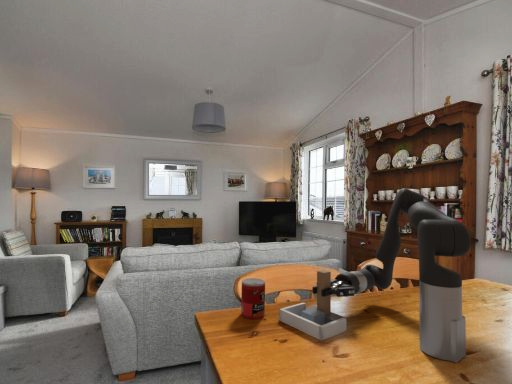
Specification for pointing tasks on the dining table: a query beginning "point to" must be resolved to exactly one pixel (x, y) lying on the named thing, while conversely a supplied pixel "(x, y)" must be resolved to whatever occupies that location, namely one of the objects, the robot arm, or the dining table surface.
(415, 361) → the dining table surface
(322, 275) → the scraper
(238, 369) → the dining table surface
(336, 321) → the box
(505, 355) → the dining table surface
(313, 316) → the ceramic block
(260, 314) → the canned food
